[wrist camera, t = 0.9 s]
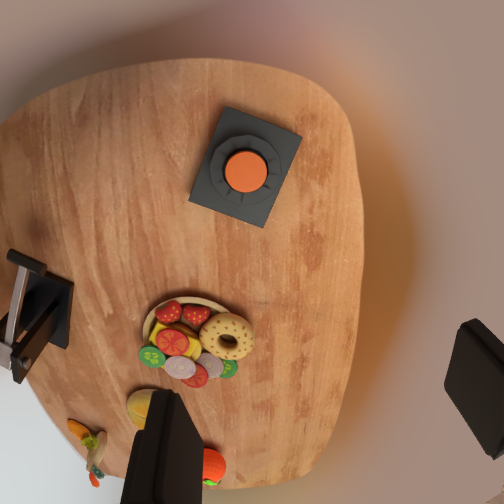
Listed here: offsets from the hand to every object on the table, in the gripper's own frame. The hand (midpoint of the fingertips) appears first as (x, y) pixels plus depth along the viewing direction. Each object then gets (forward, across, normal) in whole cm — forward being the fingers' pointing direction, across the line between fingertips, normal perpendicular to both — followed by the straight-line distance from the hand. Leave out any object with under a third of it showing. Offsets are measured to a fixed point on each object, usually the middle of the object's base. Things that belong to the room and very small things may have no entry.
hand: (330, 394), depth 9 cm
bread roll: (+27, +21, +28) cm, 44 cm away
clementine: (+27, +16, +43) cm, 53 cm away
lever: (+19, +29, +4) cm, 35 cm away
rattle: (+27, +37, +34) cm, 57 cm away
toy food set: (+27, +11, +15) cm, 33 cm away
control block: (+26, +1, -4) cm, 27 cm away
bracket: (+27, +31, +8) cm, 41 cm away
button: (+23, +1, -4) cm, 23 cm away
